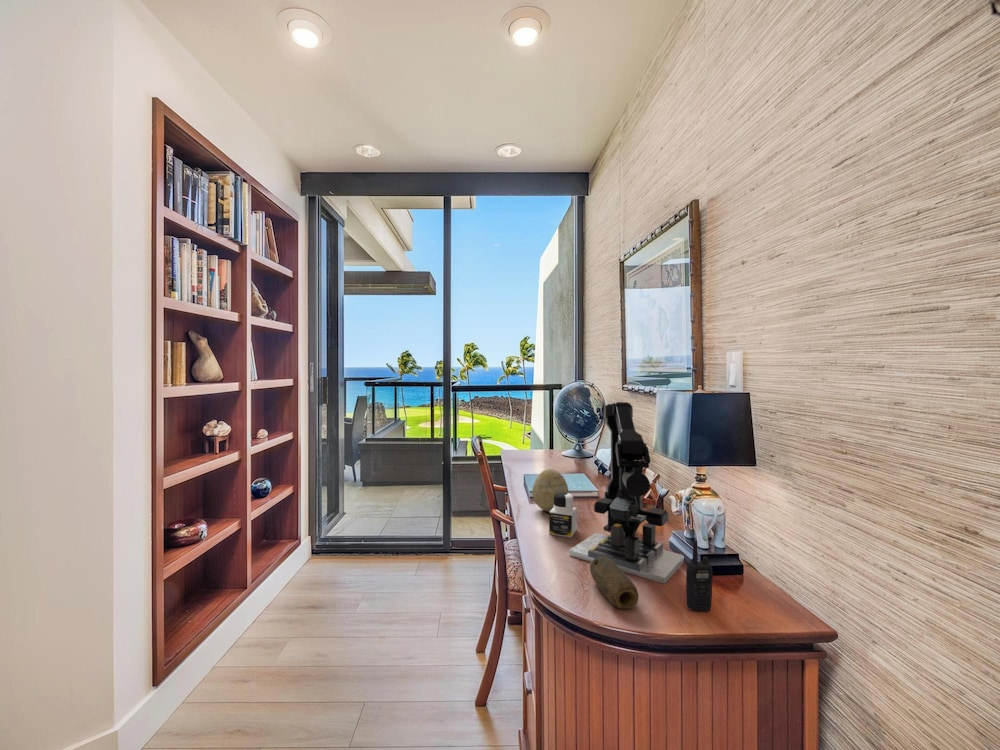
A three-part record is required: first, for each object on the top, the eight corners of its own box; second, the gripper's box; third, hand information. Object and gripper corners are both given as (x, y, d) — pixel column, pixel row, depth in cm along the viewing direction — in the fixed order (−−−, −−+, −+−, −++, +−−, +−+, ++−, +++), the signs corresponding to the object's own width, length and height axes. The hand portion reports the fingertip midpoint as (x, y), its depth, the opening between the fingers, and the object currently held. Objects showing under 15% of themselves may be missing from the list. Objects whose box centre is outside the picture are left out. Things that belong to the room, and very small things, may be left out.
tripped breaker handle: (615, 541, 128) (615, 522, 128) (623, 543, 126) (624, 524, 126) (610, 544, 126) (610, 525, 125) (619, 547, 124) (619, 527, 124)
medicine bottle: (548, 534, 141) (549, 495, 141) (555, 526, 148) (555, 489, 148) (571, 537, 139) (572, 498, 138) (577, 529, 145) (577, 492, 145)
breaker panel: (596, 537, 139) (596, 510, 139) (685, 560, 123) (685, 530, 123) (568, 556, 126) (568, 526, 125) (663, 584, 110) (664, 550, 109)
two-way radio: (689, 612, 98) (690, 542, 97) (680, 601, 102) (681, 534, 102) (715, 612, 98) (716, 542, 97) (704, 601, 102) (705, 534, 102)
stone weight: (584, 582, 111) (584, 554, 111) (610, 578, 113) (610, 551, 113) (614, 615, 97) (614, 584, 96) (644, 611, 98) (644, 580, 98)
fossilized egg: (570, 516, 157) (570, 473, 157) (533, 516, 157) (533, 473, 157) (565, 505, 170) (566, 464, 170) (531, 505, 170) (531, 464, 170)
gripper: (584, 485, 123) (584, 543, 123) (654, 498, 111) (654, 562, 112) (603, 477, 131) (602, 531, 132) (669, 488, 120) (668, 547, 121)
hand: (629, 542), depth 124 cm, fingers closed
